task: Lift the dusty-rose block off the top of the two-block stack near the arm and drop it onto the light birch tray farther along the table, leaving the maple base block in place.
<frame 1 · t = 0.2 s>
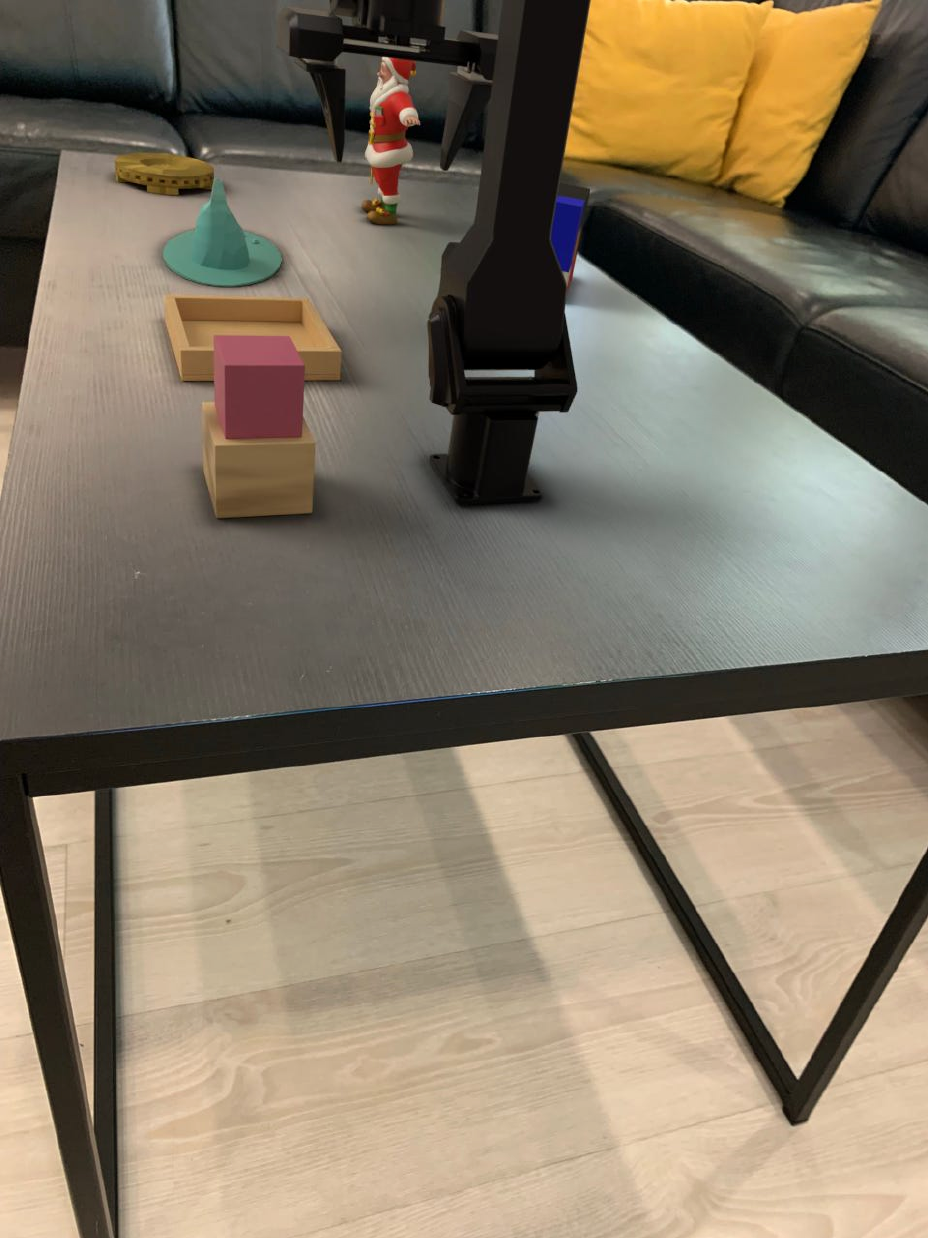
hand: (391, 165, 78), 15 cm above the table, tool pointing down, fingers open, 9 cm apart
base block: (256, 492, 61), on the table, touching rose block
santa figurine: (383, 219, 121), on the table
puzzle toy: (524, 283, 107), on the table
teal cone with brim: (223, 257, 99), on the table
tray: (250, 350, 80), on the table
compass: (165, 183, 120), on the table
rose block: (257, 421, 58), point 5 cm above the table, touching base block
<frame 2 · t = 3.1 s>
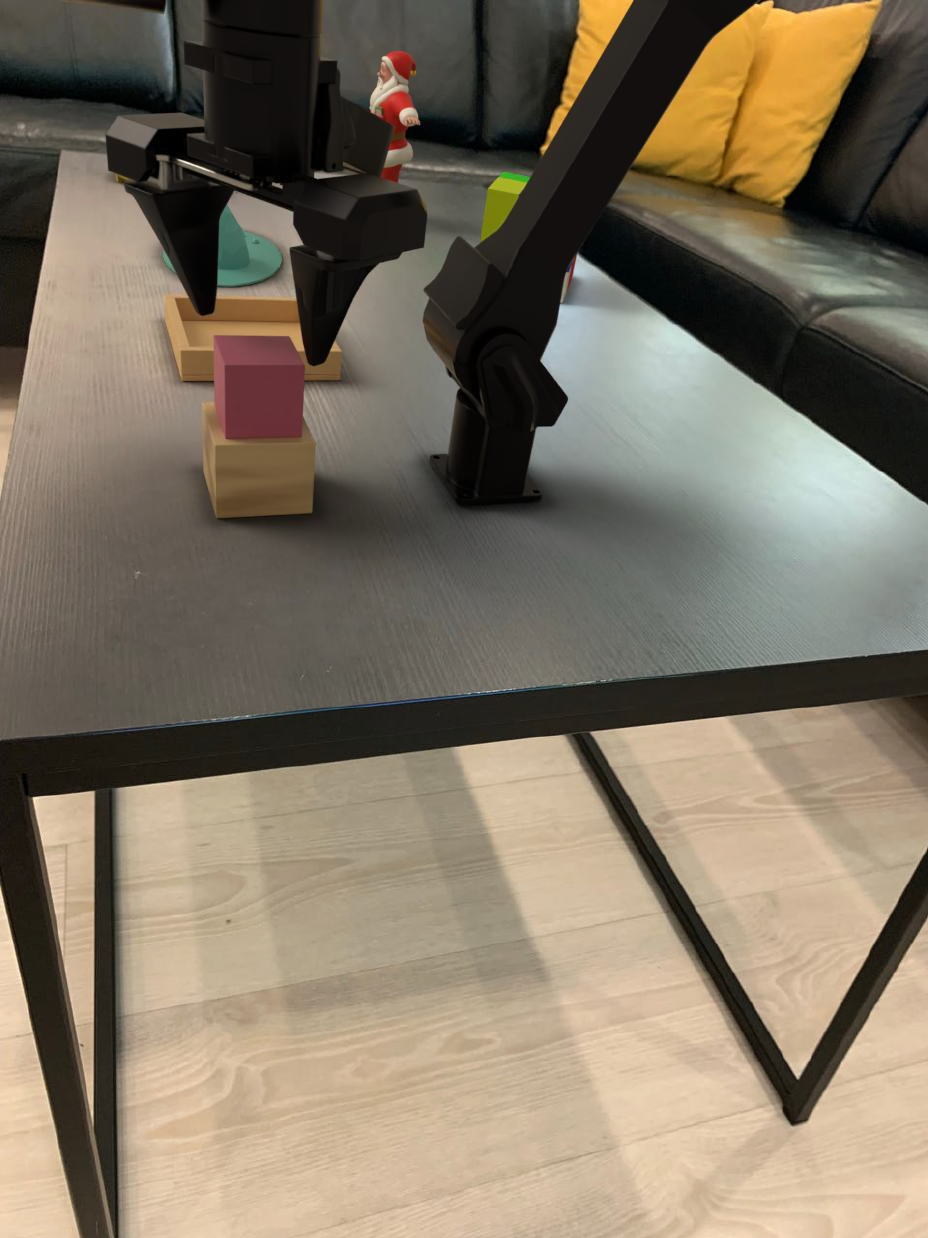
hand: (259, 338, 55), 10 cm above the table, tool pointing down, fingers open, 9 cm apart
nothing on the table moved.
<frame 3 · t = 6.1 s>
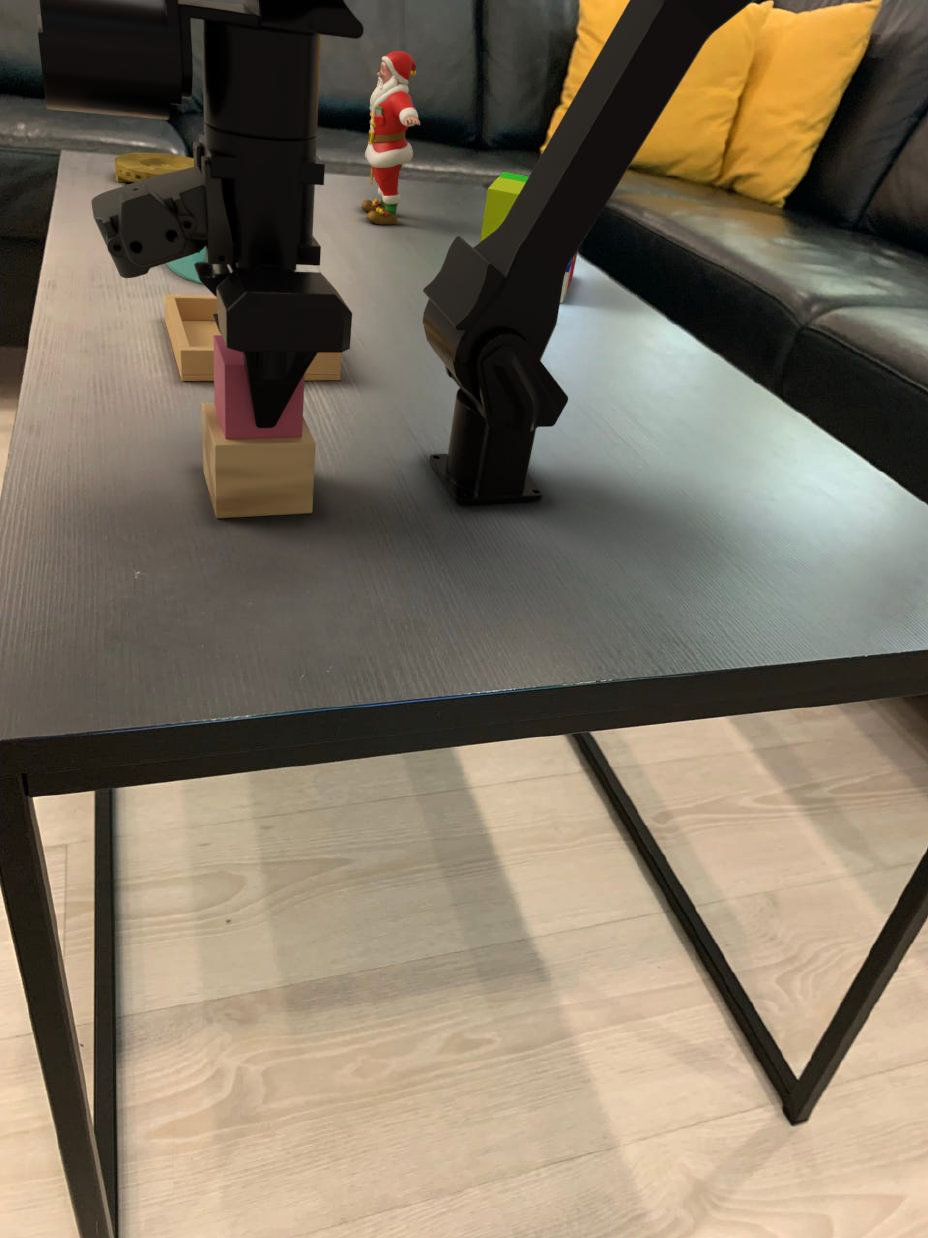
hand: (258, 408, 57), 6 cm above the table, tool pointing down, fingers closed on rose block, 4 cm apart
rose block: (257, 421, 58), point 5 cm above the table, touching base block, gripper
everything else where it was.
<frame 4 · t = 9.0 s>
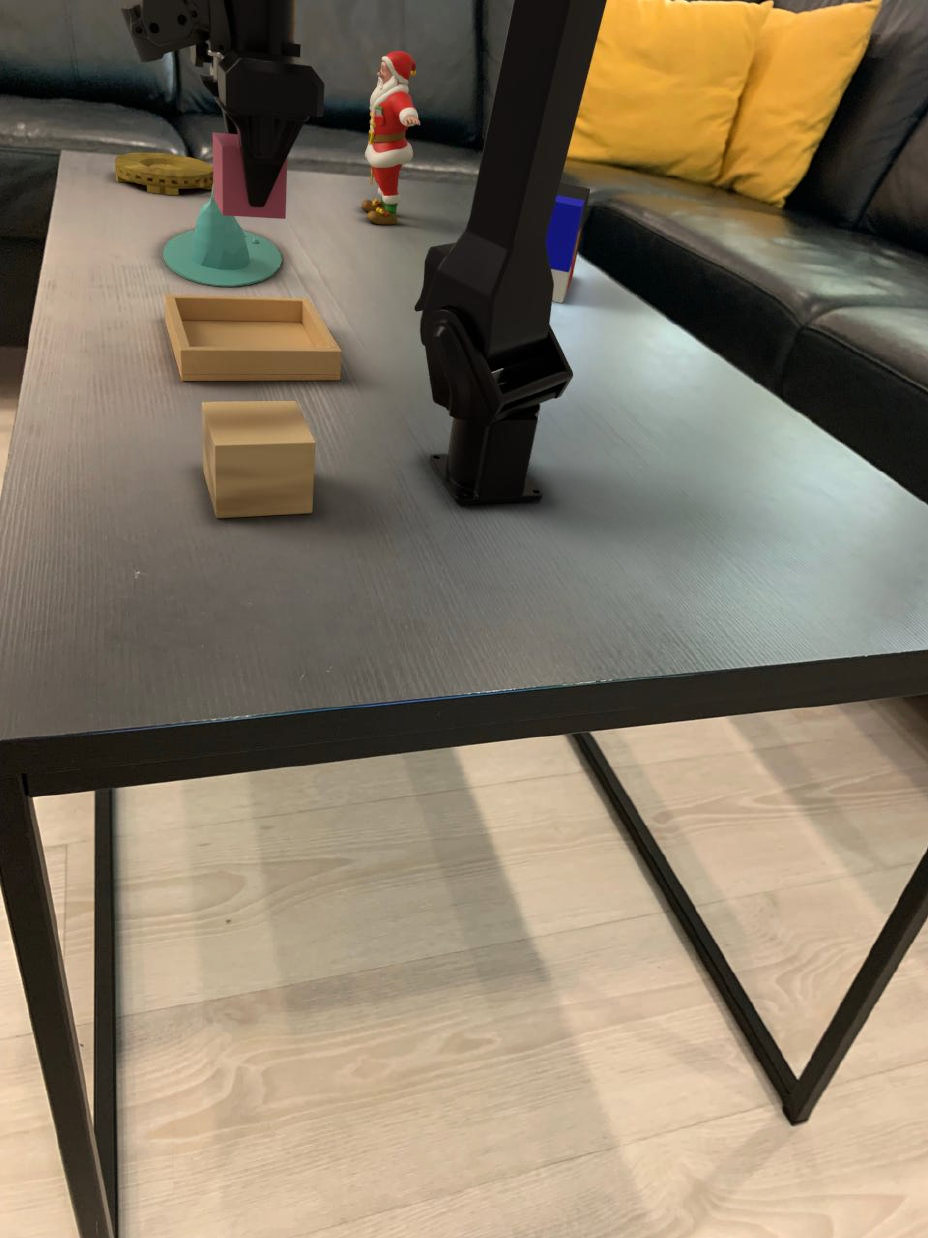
hand: (250, 197, 70), 13 cm above the table, tool pointing down, fingers closed on rose block, 4 cm apart
base block: (256, 492, 61), on the table
rose block: (249, 208, 70), point 12 cm above the table, touching gripper
everything else where it was.
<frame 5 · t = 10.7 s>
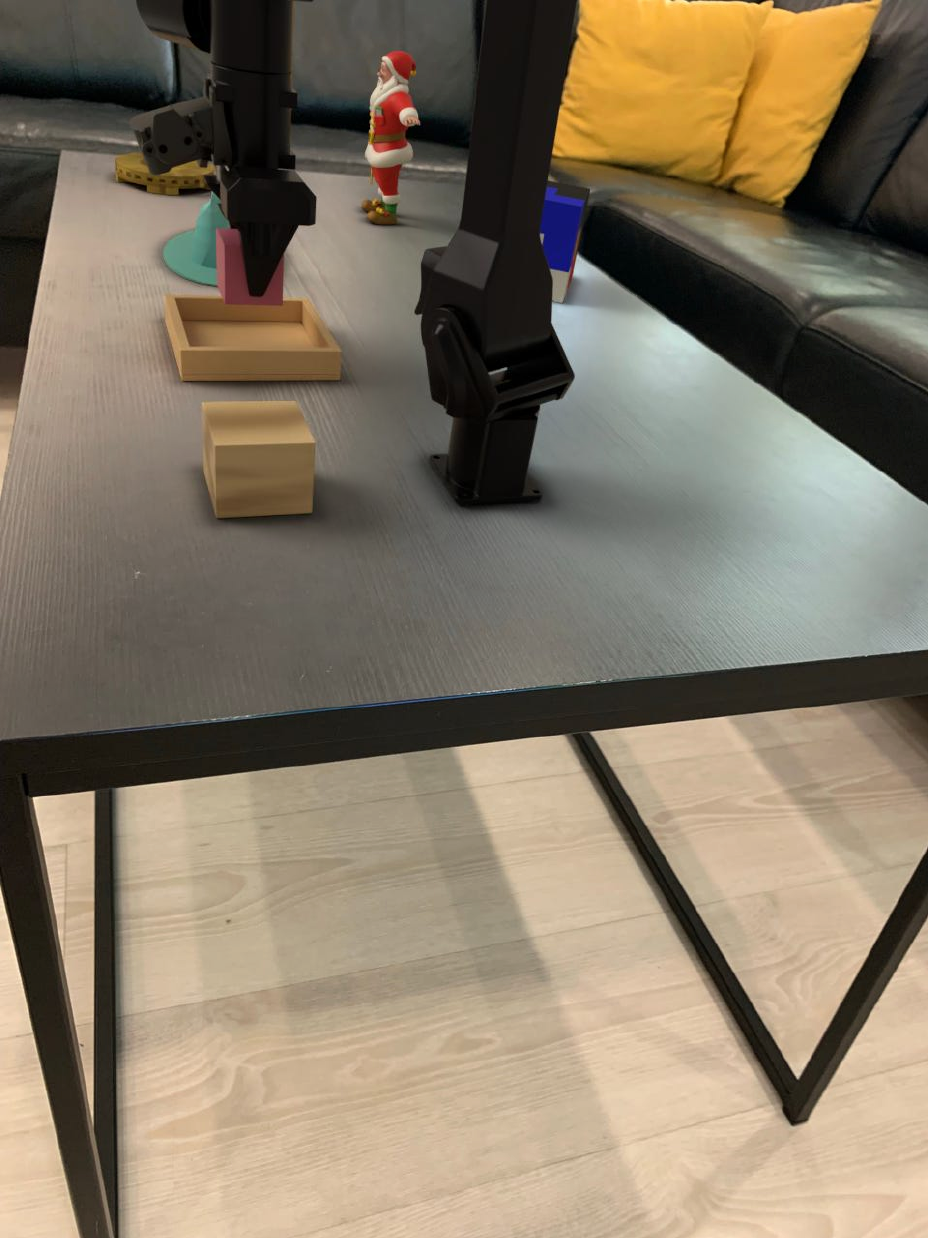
hand: (250, 285, 76), 6 cm above the table, tool pointing down, fingers closed on rose block, 4 cm apart
rose block: (249, 295, 77), point 5 cm above the table, touching gripper
everything else where it was.
when the fingers open (1 cm above the table, at t = 12.3 s): rose block stays where it is, resting on tray.
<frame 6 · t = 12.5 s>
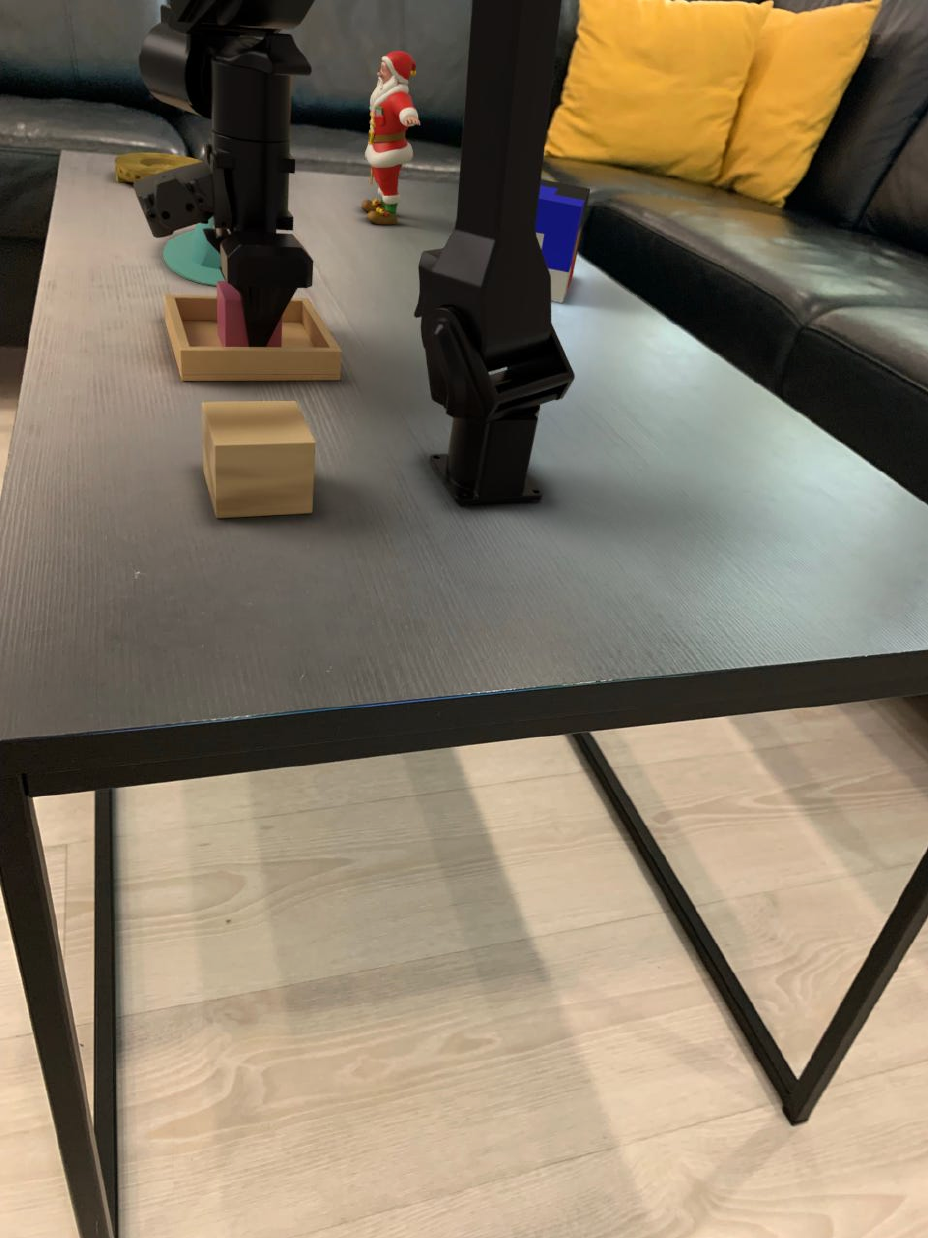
hand: (250, 337, 79), 1 cm above the table, tool pointing down, fingers open, 6 cm apart
rose block: (249, 345, 79), resting on tray
everything else where it was.
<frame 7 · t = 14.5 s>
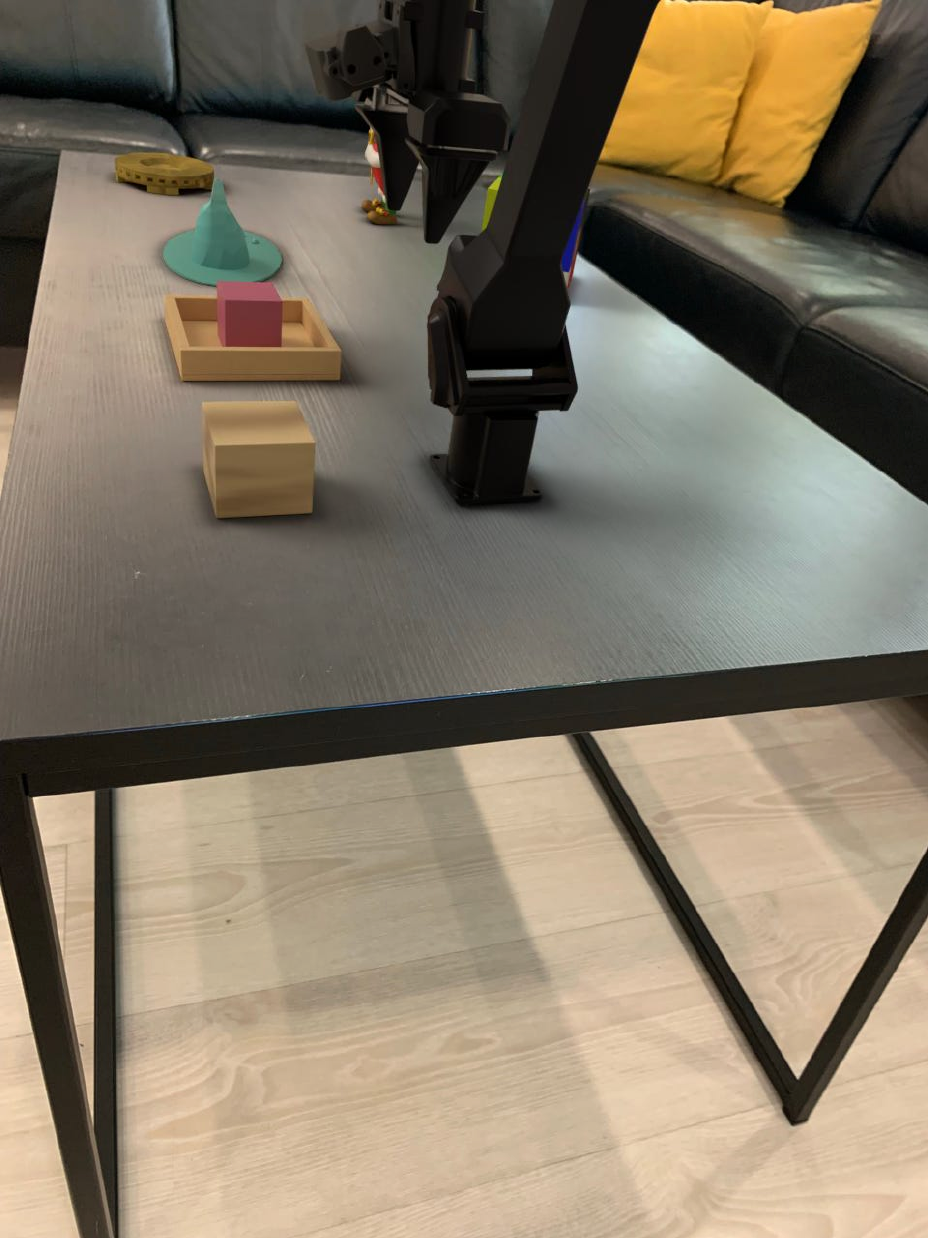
hand: (411, 225, 73), 12 cm above the table, tool pointing down, fingers open, 9 cm apart
nothing on the table moved.
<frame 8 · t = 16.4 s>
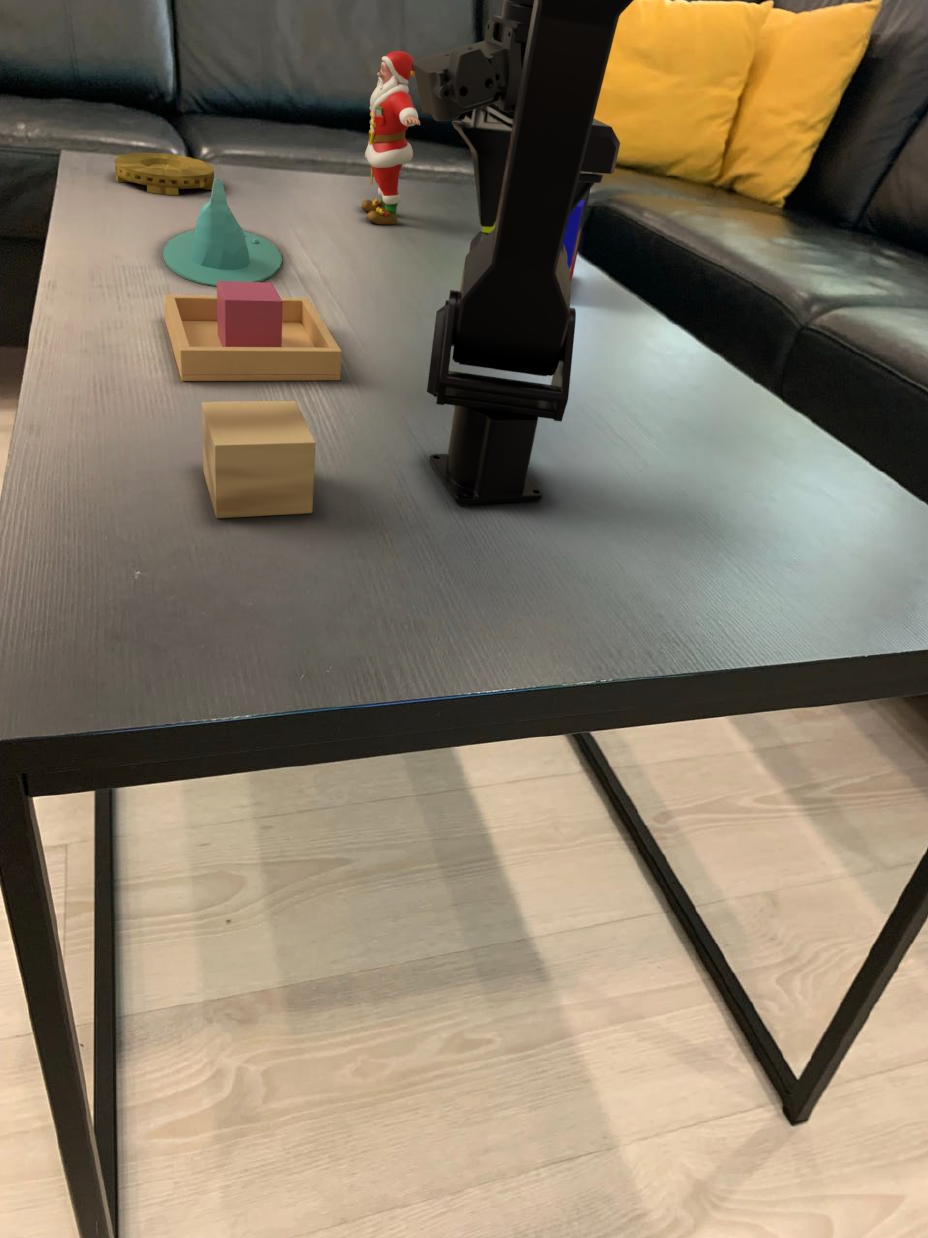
hand: (507, 243, 73), 12 cm above the table, tool pointing down, fingers open, 9 cm apart
nothing on the table moved.
at the end: rose block inside the target area in the tray (0.1 cm from its centre), point 0.5 cm above the tray's base; rose block tilted 0°; base block moved 0.0 cm from its start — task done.
